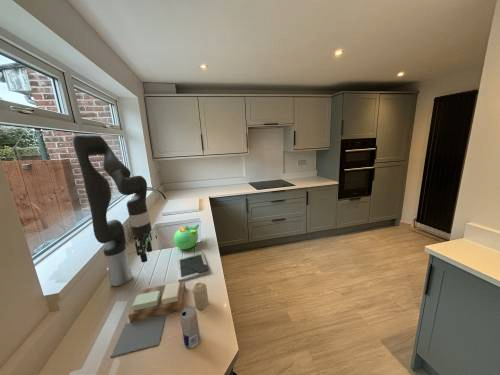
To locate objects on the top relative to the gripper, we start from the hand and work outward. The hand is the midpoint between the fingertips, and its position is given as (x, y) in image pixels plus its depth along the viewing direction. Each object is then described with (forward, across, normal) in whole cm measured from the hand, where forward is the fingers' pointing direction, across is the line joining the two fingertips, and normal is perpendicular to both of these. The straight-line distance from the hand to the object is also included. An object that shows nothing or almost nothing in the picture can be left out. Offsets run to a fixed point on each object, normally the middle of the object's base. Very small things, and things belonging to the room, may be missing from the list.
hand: (147, 256), depth 89 cm
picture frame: (+21, -17, +16) cm, 31 cm away
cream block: (+16, +8, +9) cm, 20 cm away
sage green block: (+16, +9, 0) cm, 19 cm away
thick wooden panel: (+20, +7, +4) cm, 22 cm away
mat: (+20, +20, 0) cm, 29 cm away
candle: (+20, +13, +22) cm, 32 cm away
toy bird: (+20, -43, +12) cm, 49 cm away
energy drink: (+20, +29, +18) cm, 40 cm away
